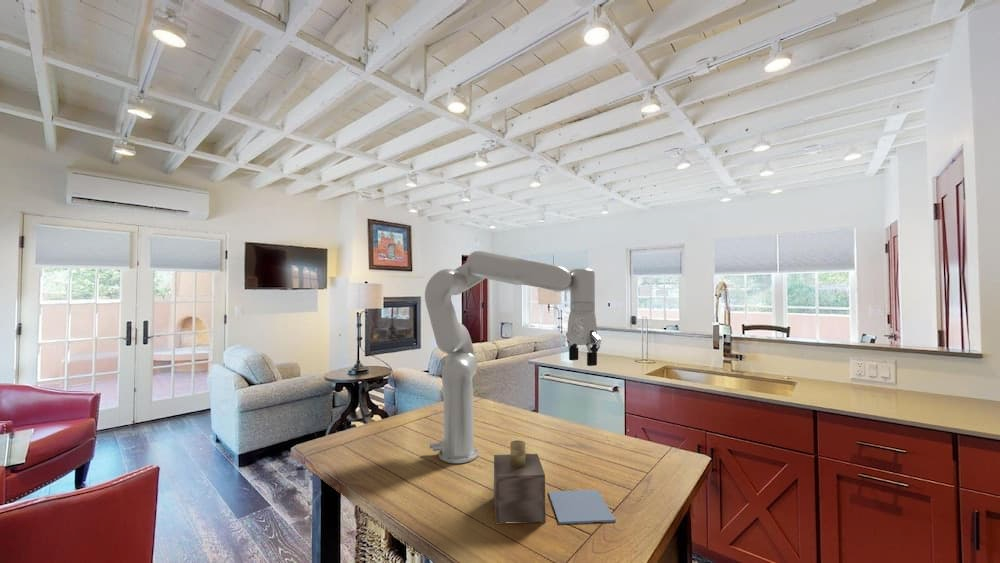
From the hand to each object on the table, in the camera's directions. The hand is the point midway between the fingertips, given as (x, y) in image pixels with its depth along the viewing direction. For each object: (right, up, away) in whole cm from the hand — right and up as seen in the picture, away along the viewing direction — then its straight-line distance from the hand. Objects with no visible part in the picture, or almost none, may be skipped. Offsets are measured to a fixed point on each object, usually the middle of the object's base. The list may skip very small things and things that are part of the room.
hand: (582, 362), depth 117 cm
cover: (-21, -29, -27) cm, 45 cm away
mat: (-6, -29, -26) cm, 40 cm away
